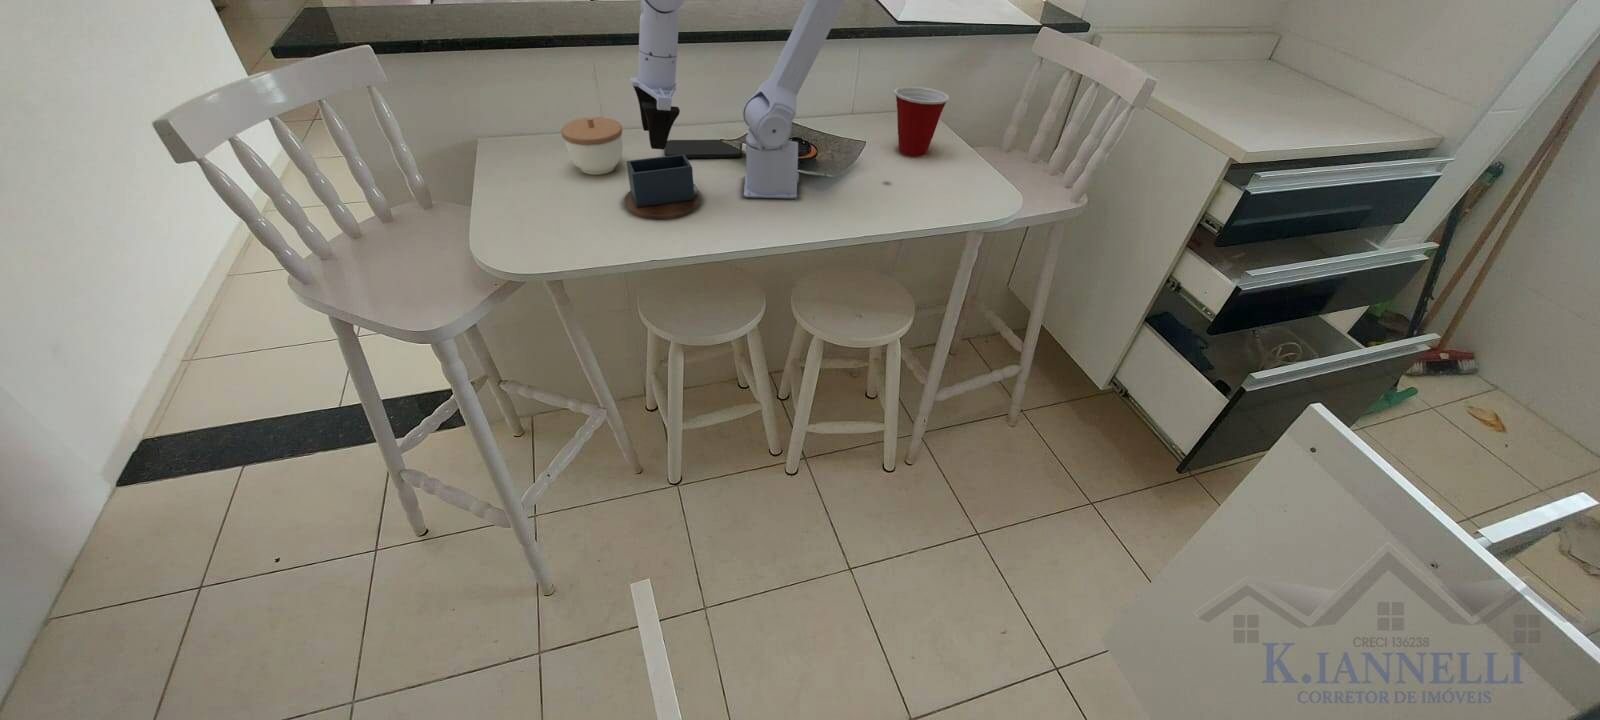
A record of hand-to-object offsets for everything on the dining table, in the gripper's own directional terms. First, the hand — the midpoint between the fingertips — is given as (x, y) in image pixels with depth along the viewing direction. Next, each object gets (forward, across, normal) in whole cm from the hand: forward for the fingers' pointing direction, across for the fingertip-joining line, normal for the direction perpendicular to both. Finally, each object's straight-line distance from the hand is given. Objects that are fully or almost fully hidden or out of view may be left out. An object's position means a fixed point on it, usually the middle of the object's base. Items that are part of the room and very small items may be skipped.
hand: (653, 139), depth 109 cm
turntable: (+11, +1, +2) cm, 11 cm away
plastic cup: (+3, -8, +55) cm, 56 cm away
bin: (+10, +1, +3) cm, 10 cm away
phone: (+9, -19, +14) cm, 25 cm away
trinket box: (+12, -16, -7) cm, 22 cm away
